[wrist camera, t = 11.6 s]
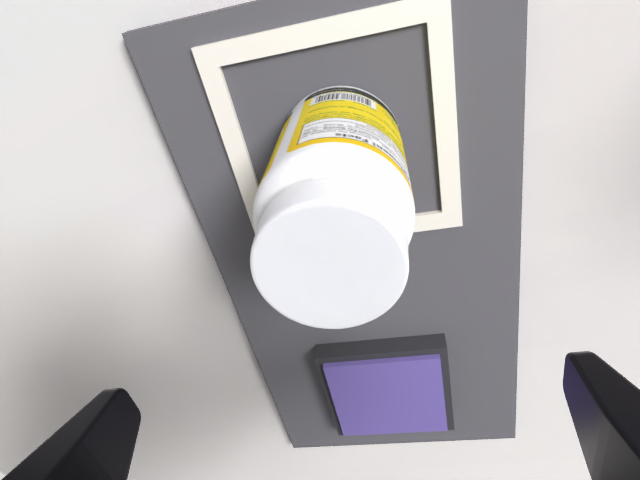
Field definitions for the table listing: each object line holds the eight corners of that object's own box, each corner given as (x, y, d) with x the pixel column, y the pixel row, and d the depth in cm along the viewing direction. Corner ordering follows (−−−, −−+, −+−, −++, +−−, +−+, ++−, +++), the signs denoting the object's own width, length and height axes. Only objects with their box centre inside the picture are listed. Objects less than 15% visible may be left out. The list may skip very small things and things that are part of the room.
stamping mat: (294, 439, 31) (291, 466, 29) (128, 30, 17) (104, 40, 15) (512, 428, 28) (520, 458, 27) (523, -64, 14) (543, -64, 13)
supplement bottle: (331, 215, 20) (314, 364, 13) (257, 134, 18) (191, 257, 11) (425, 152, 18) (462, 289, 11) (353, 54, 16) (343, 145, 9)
